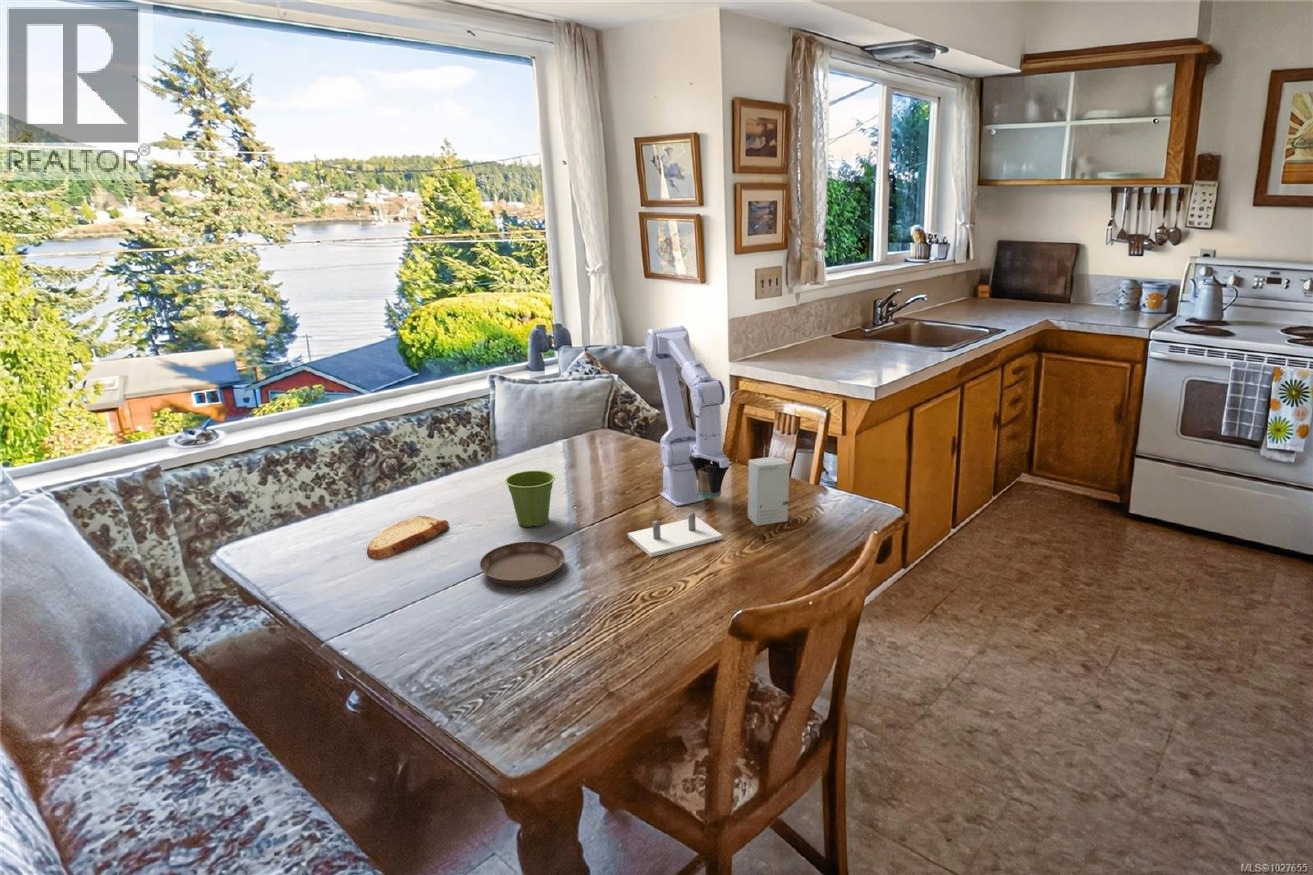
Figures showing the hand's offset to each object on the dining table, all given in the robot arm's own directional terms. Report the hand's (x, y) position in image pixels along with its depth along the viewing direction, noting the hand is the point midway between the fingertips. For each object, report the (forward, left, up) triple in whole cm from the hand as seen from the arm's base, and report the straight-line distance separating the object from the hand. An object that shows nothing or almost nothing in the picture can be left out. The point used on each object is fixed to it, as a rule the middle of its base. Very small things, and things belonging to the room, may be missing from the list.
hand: (709, 488), depth 183 cm
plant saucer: (+2, -47, -9) cm, 47 cm away
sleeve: (0, 0, -2) cm, 2 cm away
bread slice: (-27, -65, -9) cm, 71 cm away
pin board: (+4, -12, -9) cm, 15 cm away
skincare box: (+6, +12, -9) cm, 16 cm away
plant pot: (-22, -37, -9) cm, 44 cm away
